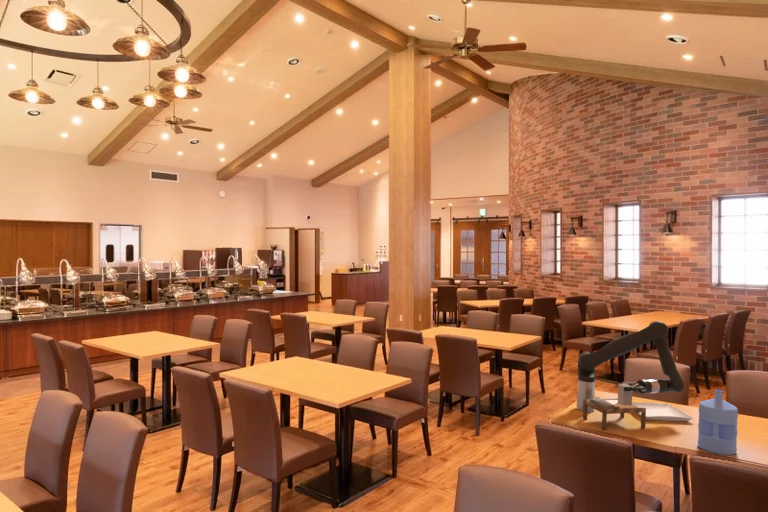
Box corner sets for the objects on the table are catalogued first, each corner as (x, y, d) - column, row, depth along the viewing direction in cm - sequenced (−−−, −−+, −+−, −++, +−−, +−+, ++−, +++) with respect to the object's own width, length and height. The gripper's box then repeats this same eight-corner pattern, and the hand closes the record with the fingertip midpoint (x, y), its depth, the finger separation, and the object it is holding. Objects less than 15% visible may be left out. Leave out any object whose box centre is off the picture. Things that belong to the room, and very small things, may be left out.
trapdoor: (605, 413, 273) (606, 405, 273) (590, 405, 287) (590, 398, 287) (638, 412, 277) (638, 404, 277) (621, 404, 291) (621, 396, 291)
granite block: (617, 402, 285) (617, 384, 285) (625, 402, 286) (626, 383, 286) (623, 405, 280) (623, 386, 280) (631, 404, 281) (632, 386, 281)
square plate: (694, 424, 285) (694, 417, 285) (643, 422, 286) (643, 415, 286) (668, 409, 312) (668, 402, 312) (622, 407, 313) (622, 401, 313)
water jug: (700, 440, 259) (702, 384, 259) (738, 448, 249) (740, 390, 249) (694, 449, 247) (696, 390, 247) (734, 458, 237) (736, 397, 237)
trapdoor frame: (603, 430, 271) (604, 408, 270) (583, 418, 289) (583, 397, 289) (645, 428, 275) (646, 406, 275) (622, 416, 294) (623, 396, 293)
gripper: (639, 376, 293) (612, 377, 289) (657, 383, 279) (629, 384, 275) (638, 389, 293) (612, 390, 290) (657, 397, 279) (629, 398, 276)
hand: (620, 387), depth 283 cm, fingers open, 5 cm apart
